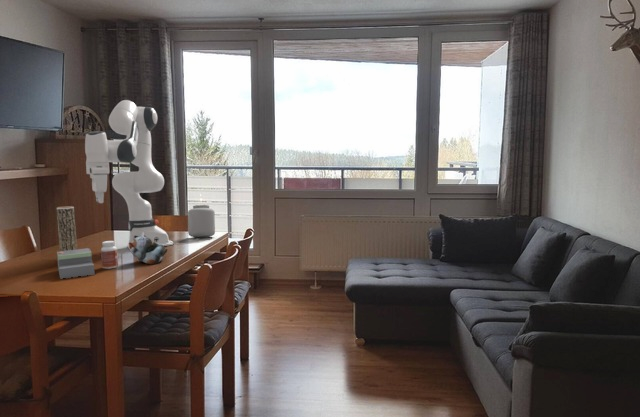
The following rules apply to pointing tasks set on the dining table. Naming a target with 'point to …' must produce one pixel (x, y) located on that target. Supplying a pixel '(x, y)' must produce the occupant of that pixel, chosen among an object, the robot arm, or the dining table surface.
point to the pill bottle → (109, 255)
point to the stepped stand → (75, 263)
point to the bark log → (66, 228)
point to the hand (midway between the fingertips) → (99, 202)
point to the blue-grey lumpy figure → (147, 250)
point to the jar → (201, 221)
